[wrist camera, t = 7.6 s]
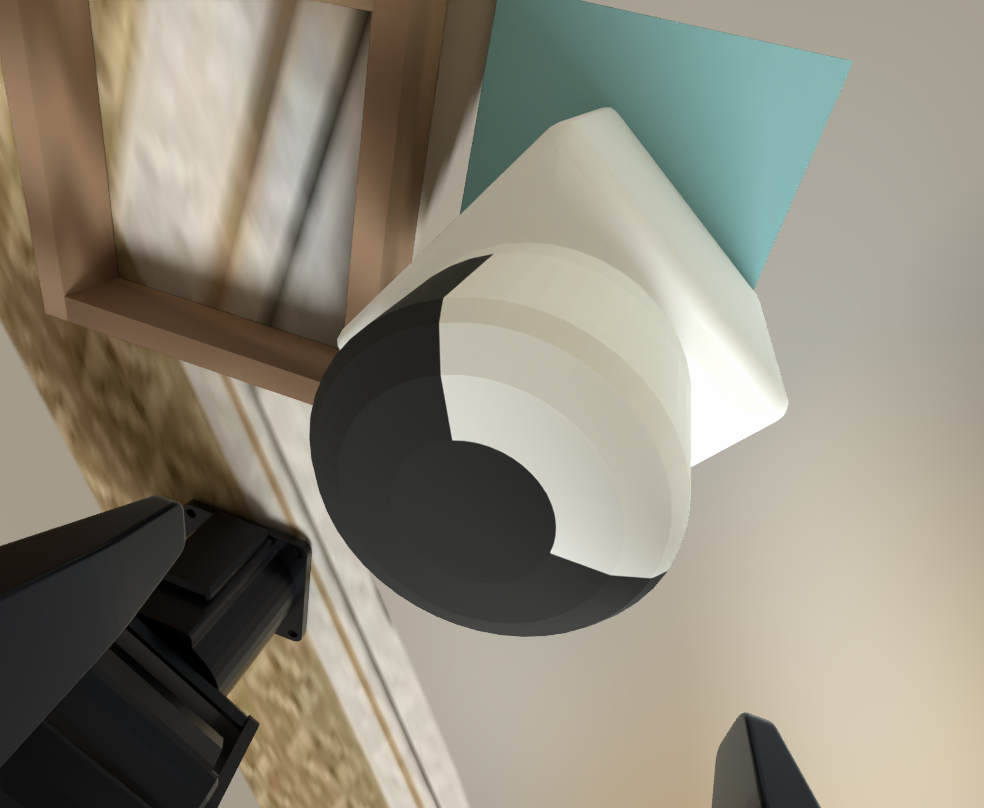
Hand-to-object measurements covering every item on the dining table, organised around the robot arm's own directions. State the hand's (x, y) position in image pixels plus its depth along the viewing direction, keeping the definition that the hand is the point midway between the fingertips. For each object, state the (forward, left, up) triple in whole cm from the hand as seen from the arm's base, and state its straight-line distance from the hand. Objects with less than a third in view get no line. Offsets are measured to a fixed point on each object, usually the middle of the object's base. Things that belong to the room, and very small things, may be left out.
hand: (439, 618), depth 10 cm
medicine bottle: (+2, 0, -13) cm, 13 cm away
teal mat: (+2, 0, -13) cm, 13 cm away
